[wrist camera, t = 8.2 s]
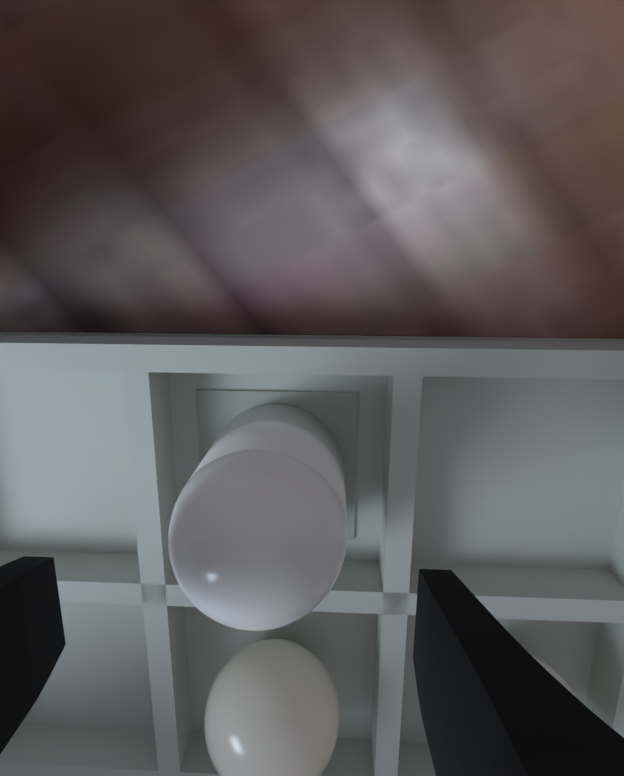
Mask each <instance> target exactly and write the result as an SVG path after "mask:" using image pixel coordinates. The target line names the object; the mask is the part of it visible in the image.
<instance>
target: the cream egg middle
mask: <svg viewBox="0 0 624 776" xmlns="http://www.w3.org/2000/svg"><path fill="white" fill-rule="evenodd" d="M339 721H340V712H339V701H338V697H337V692H336V688H335V686H334V683H333V681H332V678H331V676H330V674H329V672H328V670H327V669H326V667H325V666H324V664H323V663H322V662H321V660H320V659H319V658H318V657H317V656H316V655H315V654H314V653H312V652H311V651H310V650H309V649H307V648H306V647H304V646H302V645H300V644H298V643H296V642H293V641H290V640H286V639H264V640H260V641H257V642H254V643H252V644H250V645H248V646H246V647H244V648H242V649H241V650H239V651H238V652H237V653H236V654H234V655H233V656H232V657H231V658H230V659H229V660H228V661H227V662H226V664H225V665H224V666H223V668H222V669H221V670H220V672H219V673H218V675H217V677H216V679H215V681H214V682H213V685H212V687H211V690H210V693H209V696H208V699H207V704H206V709H205V718H204V731H205V740H206V745H207V749H208V753H209V756H210V758H211V761H212V763H213V765H214V767H215V769H216V771H217V772H218V774H219V775H220V776H320V775H321V774H322V772H323V771H324V769H325V768H326V766H327V764H328V762H329V760H330V758H331V756H332V754H333V751H334V748H335V745H336V742H337V737H338V732H339Z"/></svg>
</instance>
